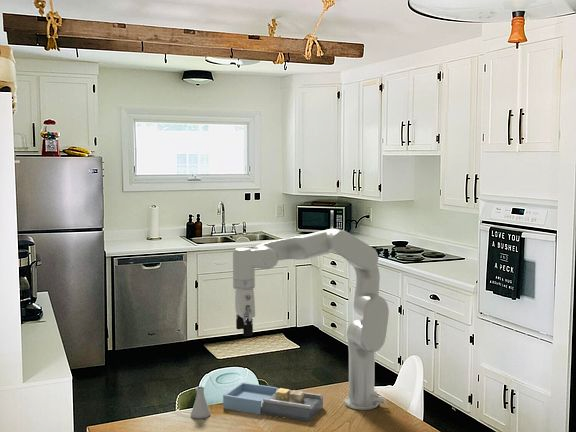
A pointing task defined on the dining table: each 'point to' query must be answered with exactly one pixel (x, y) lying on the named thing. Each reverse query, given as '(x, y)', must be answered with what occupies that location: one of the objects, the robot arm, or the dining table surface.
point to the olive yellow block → (282, 394)
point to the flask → (200, 405)
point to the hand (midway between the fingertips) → (244, 332)
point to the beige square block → (296, 396)
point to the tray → (247, 397)
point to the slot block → (294, 407)
